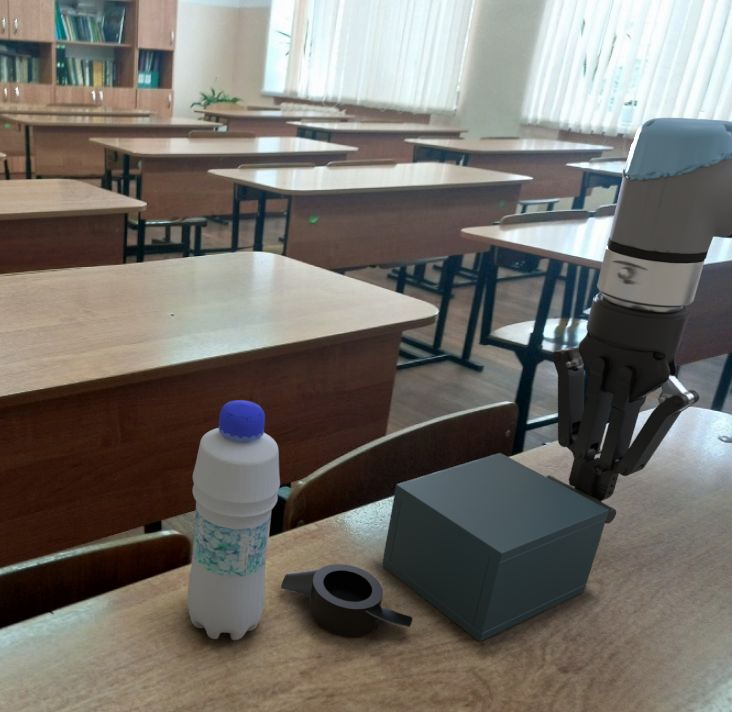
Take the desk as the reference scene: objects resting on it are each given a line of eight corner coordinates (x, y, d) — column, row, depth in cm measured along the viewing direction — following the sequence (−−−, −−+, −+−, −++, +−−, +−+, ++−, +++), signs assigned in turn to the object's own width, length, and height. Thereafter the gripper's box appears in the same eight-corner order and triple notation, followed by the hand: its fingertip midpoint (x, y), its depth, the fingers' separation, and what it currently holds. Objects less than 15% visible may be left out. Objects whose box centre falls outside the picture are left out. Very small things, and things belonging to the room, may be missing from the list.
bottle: (278, 639, 59) (305, 417, 52) (202, 658, 57) (220, 429, 50) (241, 587, 65) (262, 381, 58) (171, 603, 63) (183, 390, 55)
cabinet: (482, 527, 76) (500, 452, 73) (584, 592, 67) (609, 509, 64) (381, 565, 69) (396, 484, 66) (479, 642, 60) (501, 553, 57)
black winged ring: (349, 668, 57) (354, 638, 56) (272, 592, 65) (275, 565, 64) (419, 636, 60) (425, 607, 59) (338, 567, 68) (342, 541, 67)
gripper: (550, 285, 69) (503, 497, 78) (695, 328, 59) (621, 566, 68) (598, 275, 73) (548, 479, 82) (743, 314, 62) (667, 543, 71)
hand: (581, 518), depth 75 cm, fingers closed
